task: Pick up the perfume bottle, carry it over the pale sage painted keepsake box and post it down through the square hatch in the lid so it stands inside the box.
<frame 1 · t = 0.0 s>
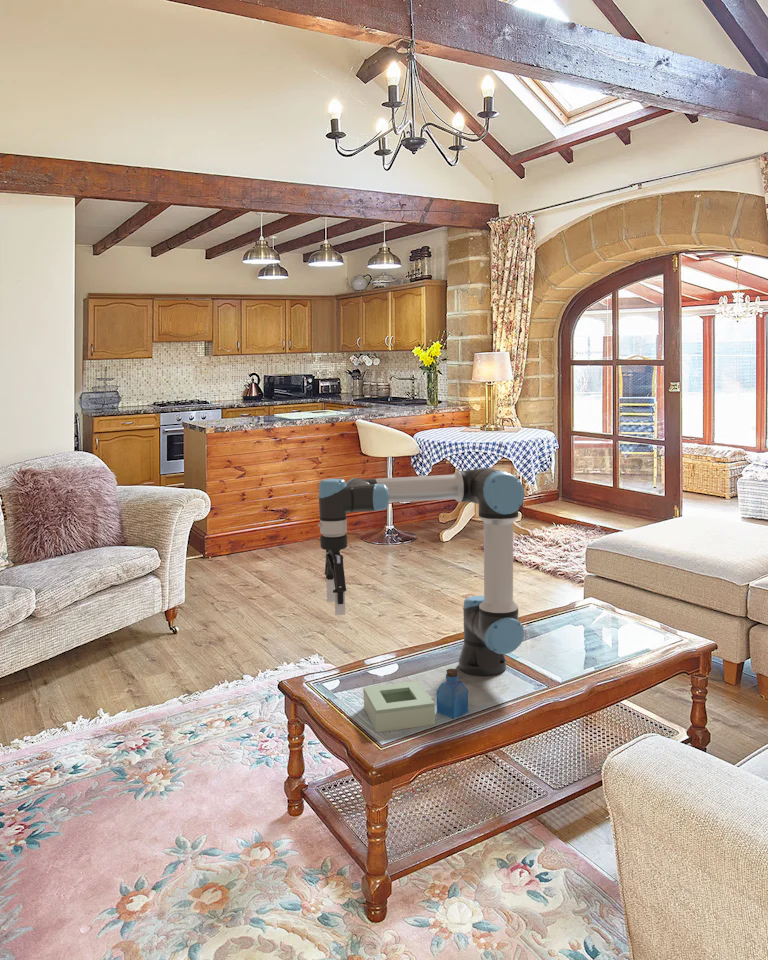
hand: (335, 607, 213), 28 cm above the table, fingers open, 13 cm apart
perfume bottle: (452, 713, 209), on the table
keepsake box: (398, 715, 207), on the table
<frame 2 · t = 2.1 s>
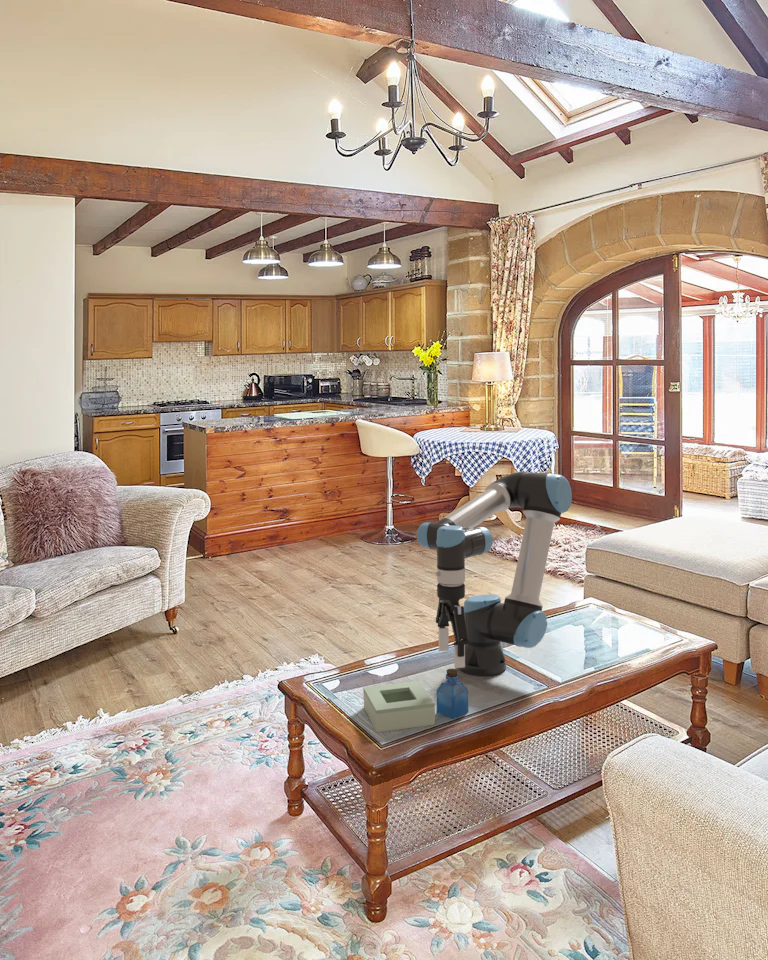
hand: (451, 658, 207), 15 cm above the table, fingers open, 13 cm apart
nothing on the table moved.
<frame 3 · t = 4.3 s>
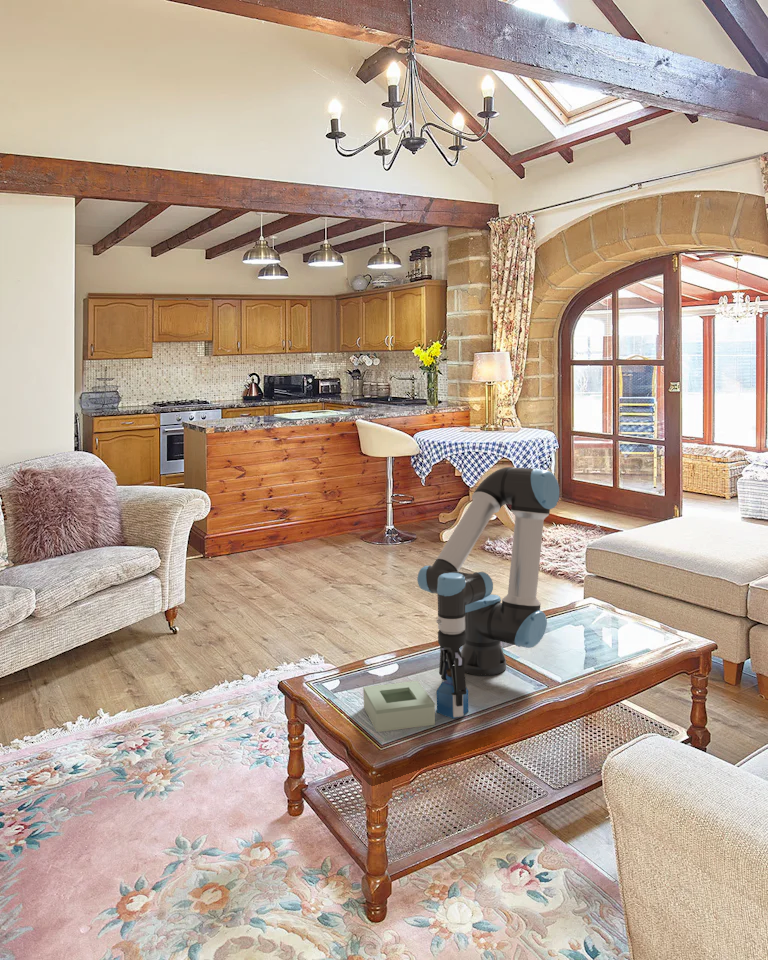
hand: (452, 709, 209), 1 cm above the table, fingers closed on perfume bottle, 8 cm apart
perfume bottle: (452, 712, 209), on the table, touching gripper
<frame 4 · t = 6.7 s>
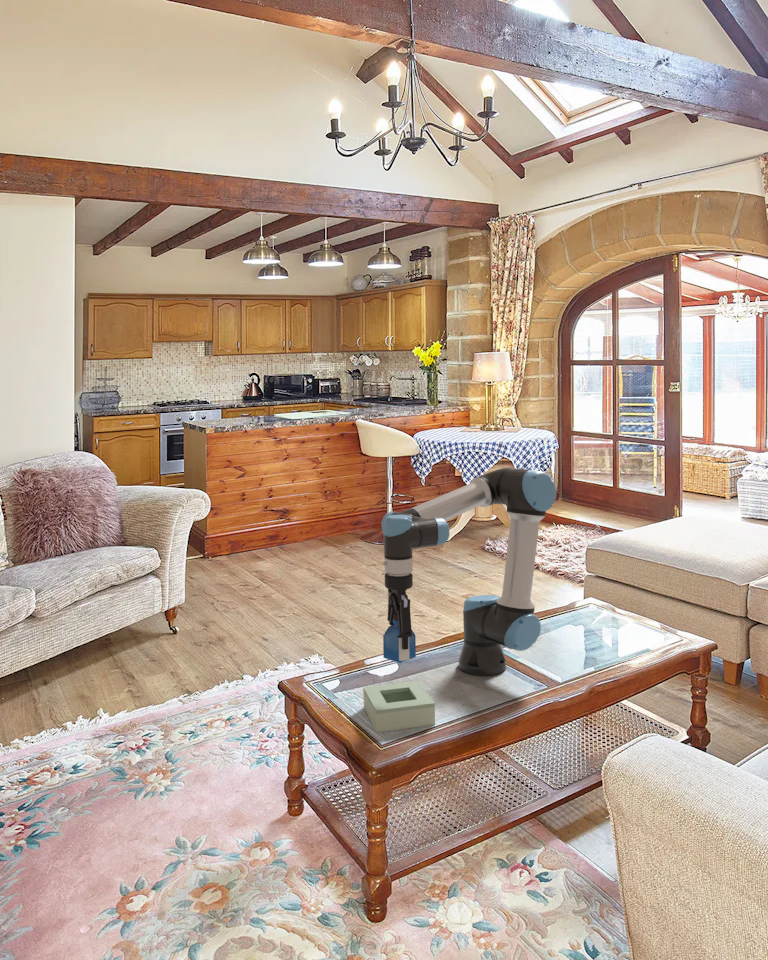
hand: (399, 654, 205), 18 cm above the table, fingers closed on perfume bottle, 8 cm apart
perfume bottle: (399, 658, 205), point 17 cm above the table, touching gripper
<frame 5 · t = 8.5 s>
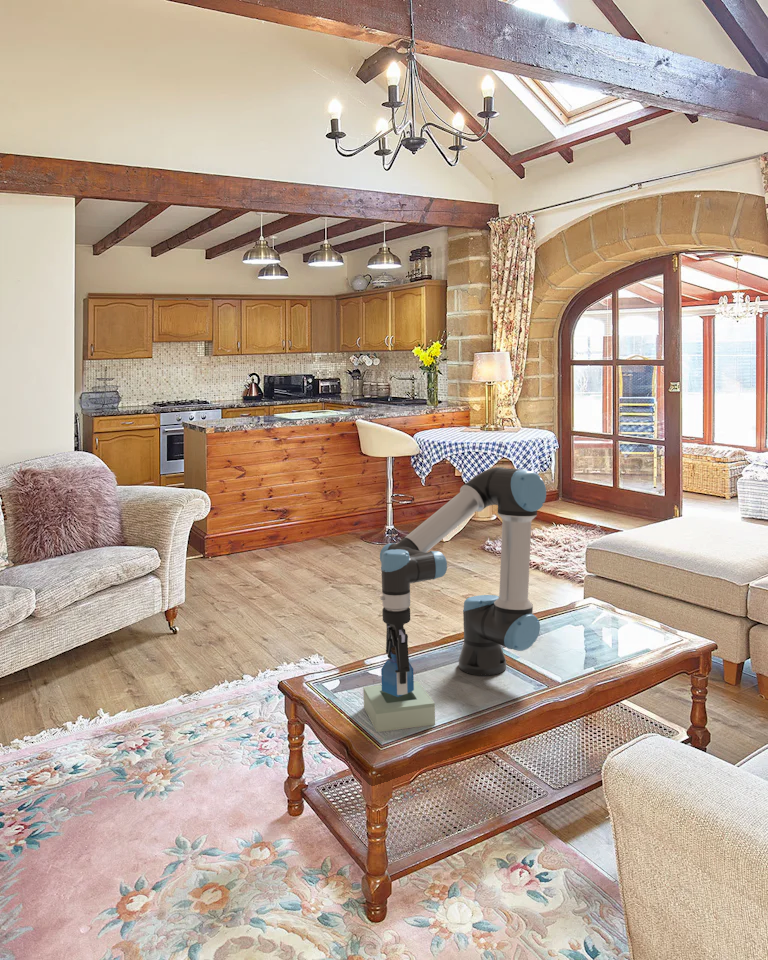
hand: (397, 687, 206), 8 cm above the table, fingers closed on perfume bottle, 8 cm apart
perfume bottle: (397, 691, 206), point 7 cm above the table, touching gripper
when the fingers open (8 cm above the table, at t = 9.4 s): perfume bottle drops 6 cm, resting on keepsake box.
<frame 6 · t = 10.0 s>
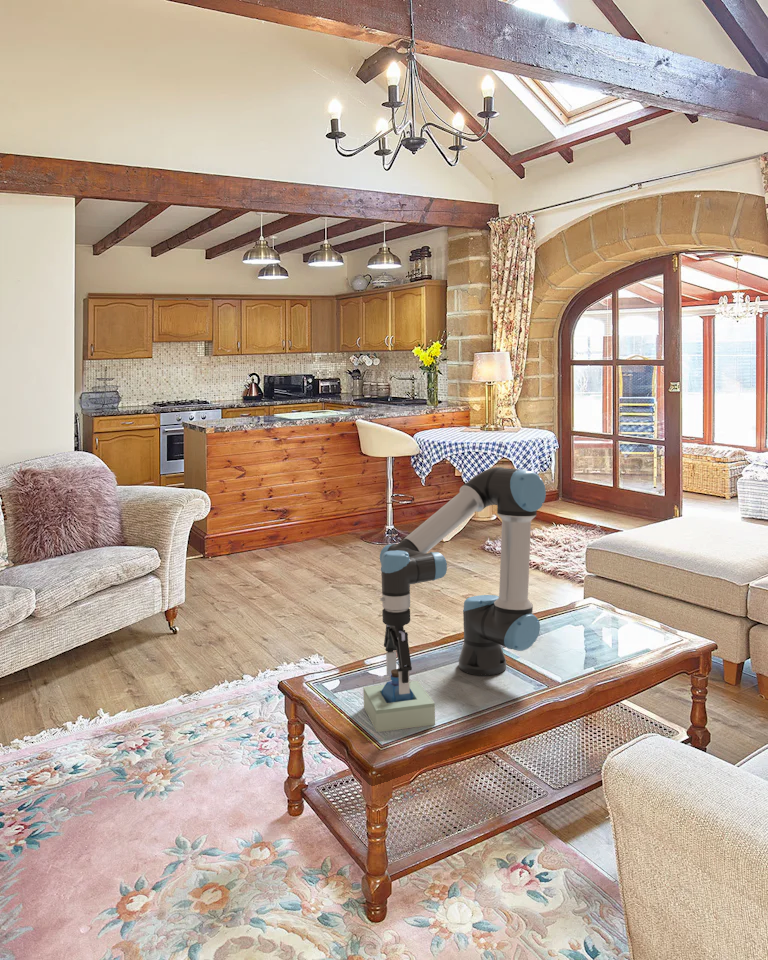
hand: (397, 683, 206), 9 cm above the table, fingers open, 13 cm apart
perfume bottle: (397, 713, 207), point 1 cm above the table, touching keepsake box
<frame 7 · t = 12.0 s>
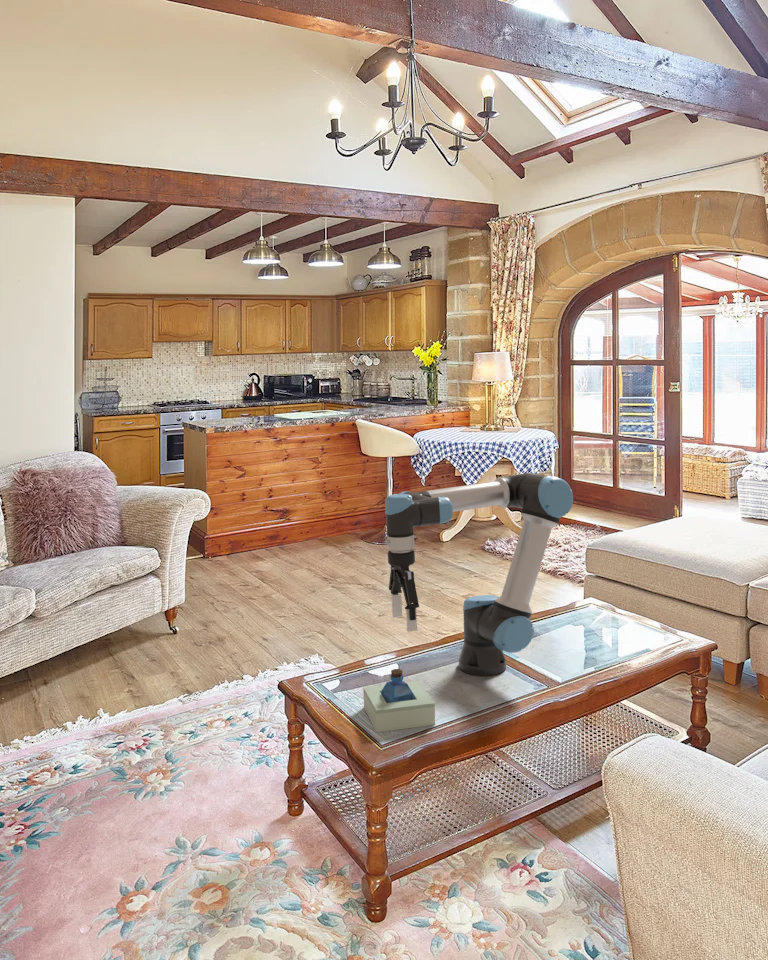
hand: (404, 623, 213), 23 cm above the table, fingers open, 13 cm apart
nothing on the table moved.
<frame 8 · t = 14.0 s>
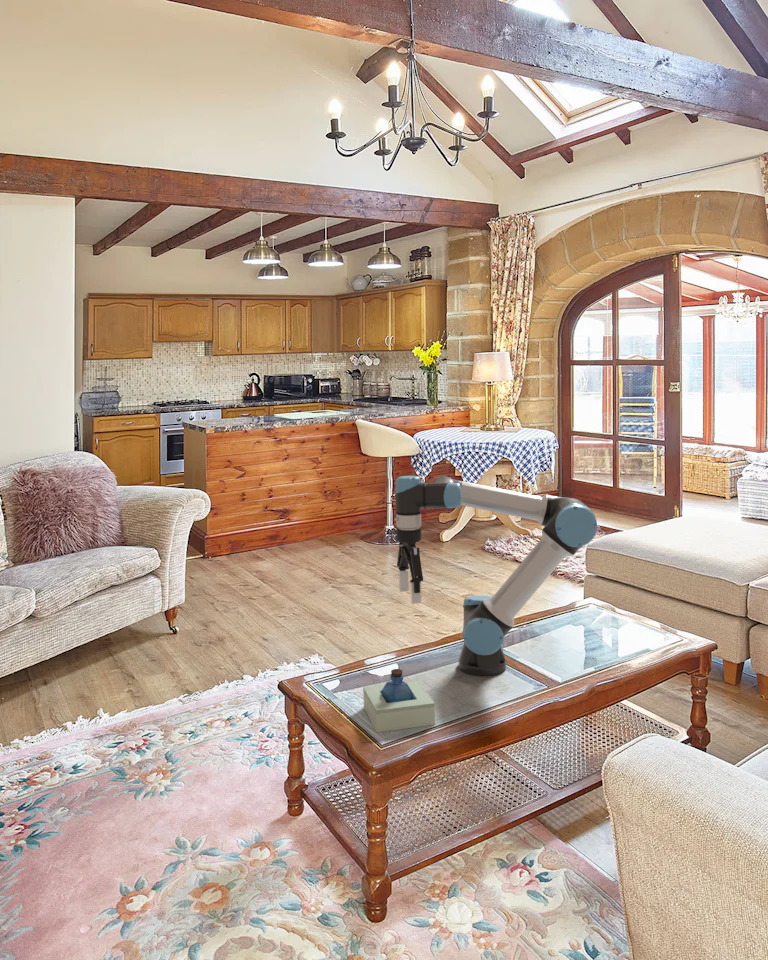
hand: (410, 597, 227), 27 cm above the table, fingers open, 13 cm apart
nothing on the table moved.
at the end: perfume bottle inside the target area on the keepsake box (0.2 cm from its centre), point 0.6 cm above the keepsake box's base; the gripper is holding nothing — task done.
